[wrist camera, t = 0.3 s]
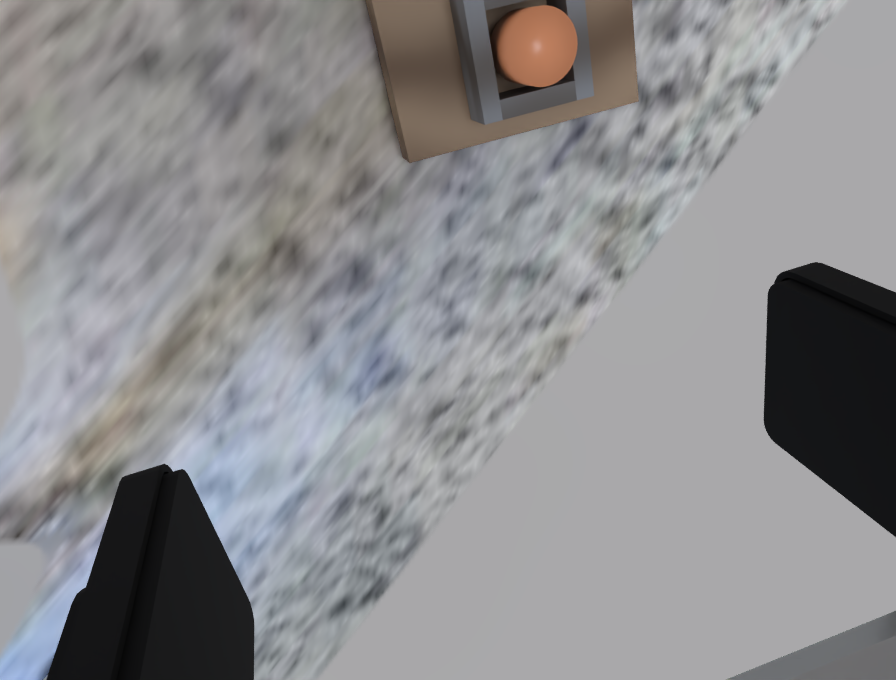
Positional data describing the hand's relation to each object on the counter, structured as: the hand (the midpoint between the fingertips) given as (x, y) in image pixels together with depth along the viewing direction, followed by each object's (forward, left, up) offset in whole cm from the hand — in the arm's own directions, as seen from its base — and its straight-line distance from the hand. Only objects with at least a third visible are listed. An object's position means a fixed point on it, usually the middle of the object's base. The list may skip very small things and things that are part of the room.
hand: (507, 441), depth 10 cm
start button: (-3, +11, -27) cm, 29 cm away
